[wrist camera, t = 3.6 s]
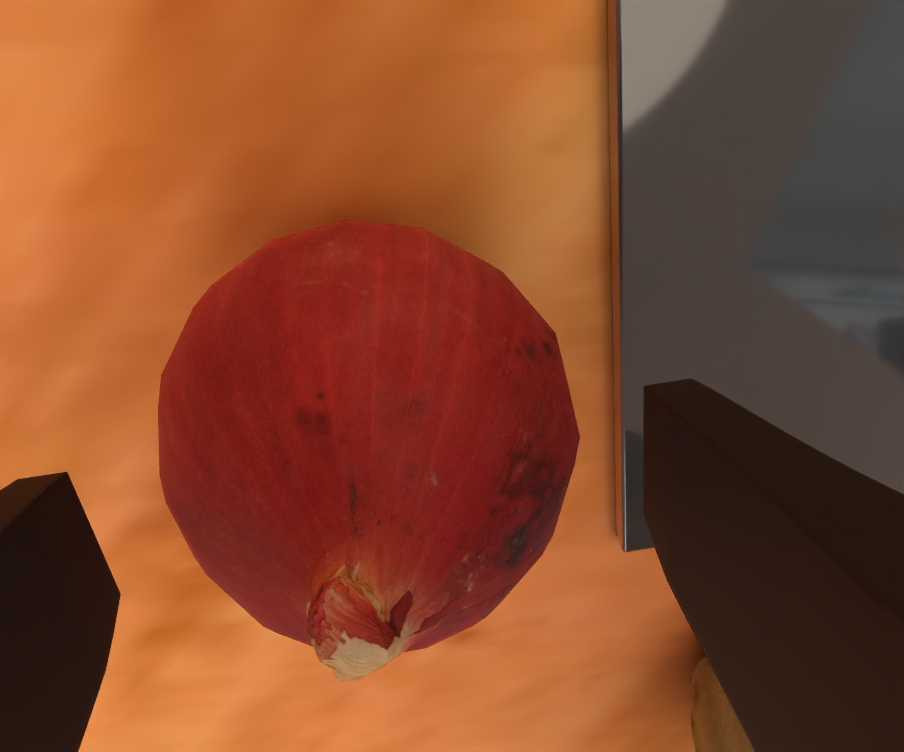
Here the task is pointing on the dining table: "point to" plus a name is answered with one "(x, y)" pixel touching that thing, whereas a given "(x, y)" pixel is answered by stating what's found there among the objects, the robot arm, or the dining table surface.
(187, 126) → the dining table surface
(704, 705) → the fennel bulb
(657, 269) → the slate board
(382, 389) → the onion
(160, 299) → the dining table surface
